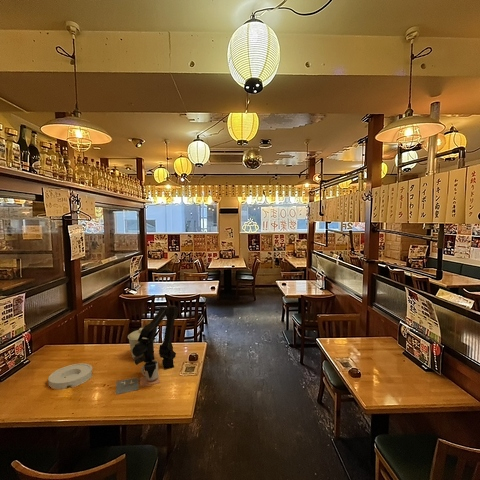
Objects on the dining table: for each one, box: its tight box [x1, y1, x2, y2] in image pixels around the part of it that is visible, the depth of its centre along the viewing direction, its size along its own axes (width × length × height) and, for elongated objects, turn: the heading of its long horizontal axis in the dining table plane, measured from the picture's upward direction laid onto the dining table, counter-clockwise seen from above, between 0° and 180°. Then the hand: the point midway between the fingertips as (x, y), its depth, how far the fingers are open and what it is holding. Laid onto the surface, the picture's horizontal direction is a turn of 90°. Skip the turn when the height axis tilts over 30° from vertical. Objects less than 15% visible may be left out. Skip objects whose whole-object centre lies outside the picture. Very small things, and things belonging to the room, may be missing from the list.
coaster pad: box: [139, 373, 161, 388], centre depth 170 cm, size 11×10×1 cm
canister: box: [127, 327, 155, 360], centre depth 200 cm, size 18×18×21 cm
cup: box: [140, 359, 159, 381], centre depth 170 cm, size 7×10×9 cm
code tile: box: [115, 376, 140, 396], centre depth 165 cm, size 12×14×1 cm
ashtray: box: [47, 363, 93, 390], centre depth 174 cm, size 23×23×4 cm
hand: (149, 374), depth 169 cm, fingers closed on cup, 7 cm apart
